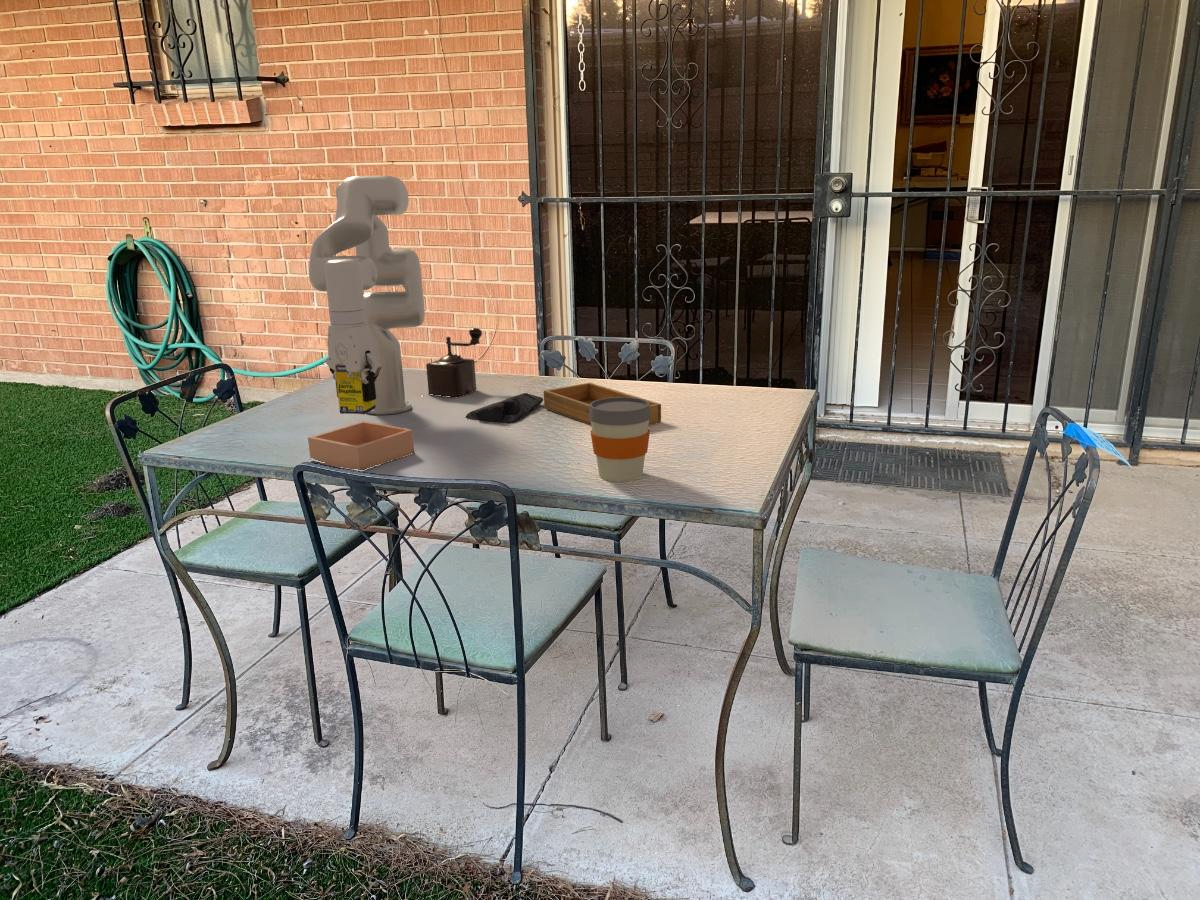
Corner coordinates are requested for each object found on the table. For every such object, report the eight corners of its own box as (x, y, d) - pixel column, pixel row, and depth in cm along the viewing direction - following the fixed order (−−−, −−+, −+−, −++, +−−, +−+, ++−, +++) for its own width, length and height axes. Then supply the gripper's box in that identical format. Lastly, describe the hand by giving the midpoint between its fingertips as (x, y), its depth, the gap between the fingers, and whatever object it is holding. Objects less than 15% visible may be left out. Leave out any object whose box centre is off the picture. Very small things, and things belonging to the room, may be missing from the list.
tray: (661, 424, 218) (661, 402, 217) (612, 435, 210) (612, 412, 208) (590, 402, 242) (589, 382, 241) (544, 411, 234) (543, 390, 232)
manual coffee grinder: (459, 398, 249) (455, 335, 243) (427, 395, 253) (422, 333, 248) (488, 386, 262) (484, 327, 257) (457, 384, 266) (453, 325, 261)
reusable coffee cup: (600, 463, 187) (598, 395, 183) (657, 467, 184) (657, 398, 179) (582, 482, 176) (580, 410, 172) (643, 486, 172) (642, 413, 168)
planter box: (310, 461, 194) (307, 437, 192) (365, 443, 207) (363, 420, 205) (360, 472, 185) (357, 447, 184) (414, 453, 198) (412, 429, 196)
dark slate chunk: (553, 406, 238) (552, 389, 237) (510, 426, 220) (509, 408, 218) (505, 402, 245) (504, 385, 244) (460, 421, 226) (458, 403, 225)
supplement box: (339, 414, 190) (333, 364, 187) (351, 407, 196) (346, 359, 193) (365, 414, 189) (360, 365, 186) (376, 408, 195) (371, 359, 192)
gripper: (307, 318, 189) (316, 397, 194) (362, 323, 179) (371, 406, 184) (334, 313, 195) (343, 391, 200) (389, 318, 185) (397, 399, 190)
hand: (356, 398), depth 192 cm, fingers closed on supplement box, 7 cm apart
